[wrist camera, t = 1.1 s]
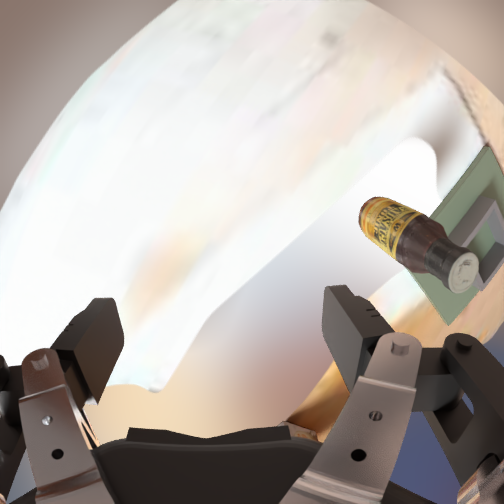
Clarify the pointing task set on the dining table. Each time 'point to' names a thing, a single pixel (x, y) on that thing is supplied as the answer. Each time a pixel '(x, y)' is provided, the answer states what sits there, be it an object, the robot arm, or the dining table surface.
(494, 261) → the deck plate
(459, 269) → the sauce bottle
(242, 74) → the dining table surface
